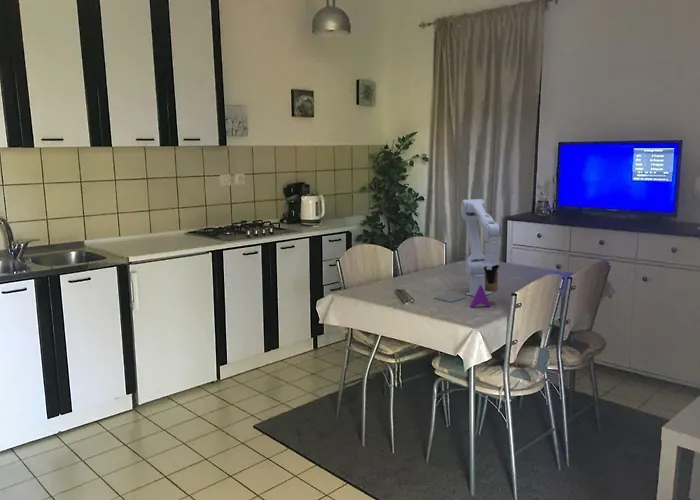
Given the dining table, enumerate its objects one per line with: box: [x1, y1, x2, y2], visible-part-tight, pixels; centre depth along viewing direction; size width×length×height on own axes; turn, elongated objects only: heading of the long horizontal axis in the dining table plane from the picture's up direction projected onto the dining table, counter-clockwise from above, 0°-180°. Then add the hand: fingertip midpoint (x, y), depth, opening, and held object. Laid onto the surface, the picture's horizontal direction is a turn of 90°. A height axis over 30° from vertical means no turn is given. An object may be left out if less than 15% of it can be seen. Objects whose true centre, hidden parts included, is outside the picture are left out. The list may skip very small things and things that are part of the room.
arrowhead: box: [469, 285, 492, 309], centre depth 249 cm, size 10×2×10 cm
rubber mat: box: [433, 293, 466, 303], centre depth 264 cm, size 10×10×1 cm
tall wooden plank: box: [485, 271, 499, 293], centre depth 252 cm, size 2×5×8 cm, turn 68°
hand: (491, 282), depth 252 cm, fingers closed on tall wooden plank, 2 cm apart
